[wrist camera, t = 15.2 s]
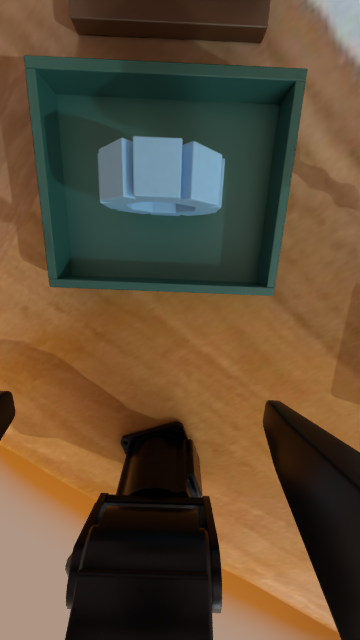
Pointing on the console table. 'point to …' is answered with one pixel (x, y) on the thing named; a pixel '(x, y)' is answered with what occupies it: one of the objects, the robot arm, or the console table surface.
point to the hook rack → (173, 18)
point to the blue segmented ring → (160, 177)
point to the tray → (191, 125)
